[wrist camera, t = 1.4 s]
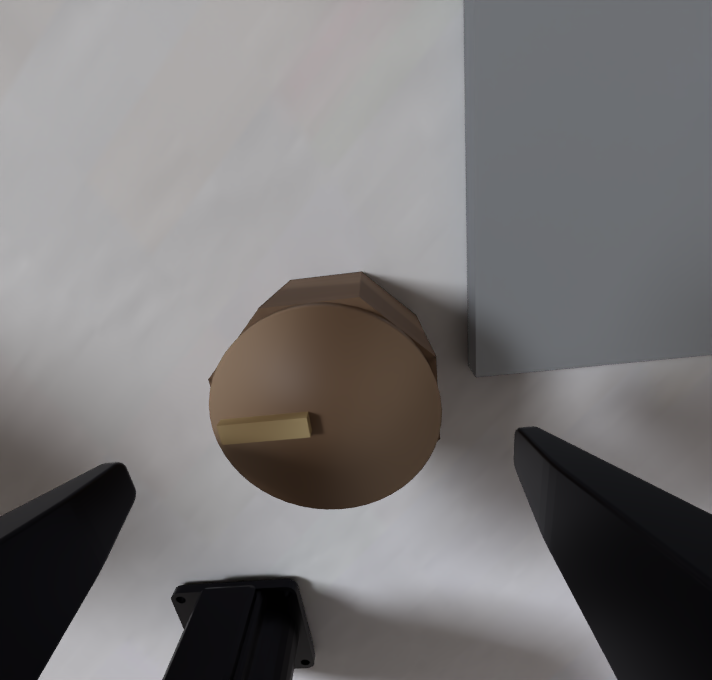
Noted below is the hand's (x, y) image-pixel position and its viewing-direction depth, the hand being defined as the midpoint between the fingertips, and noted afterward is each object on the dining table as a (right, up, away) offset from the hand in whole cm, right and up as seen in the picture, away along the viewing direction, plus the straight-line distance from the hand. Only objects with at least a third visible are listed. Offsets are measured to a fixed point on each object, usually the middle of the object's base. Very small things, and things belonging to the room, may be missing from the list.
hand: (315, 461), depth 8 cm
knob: (0, +2, +6) cm, 6 cm away
